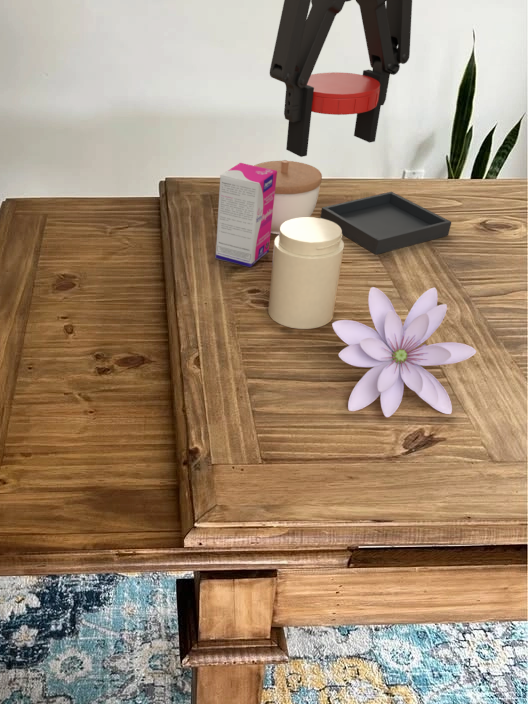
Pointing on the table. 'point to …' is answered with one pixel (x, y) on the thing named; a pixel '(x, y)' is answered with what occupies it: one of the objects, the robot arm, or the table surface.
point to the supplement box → (245, 214)
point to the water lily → (399, 353)
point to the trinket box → (293, 191)
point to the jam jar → (305, 272)
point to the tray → (386, 222)
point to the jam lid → (343, 93)
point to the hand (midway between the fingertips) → (331, 145)
